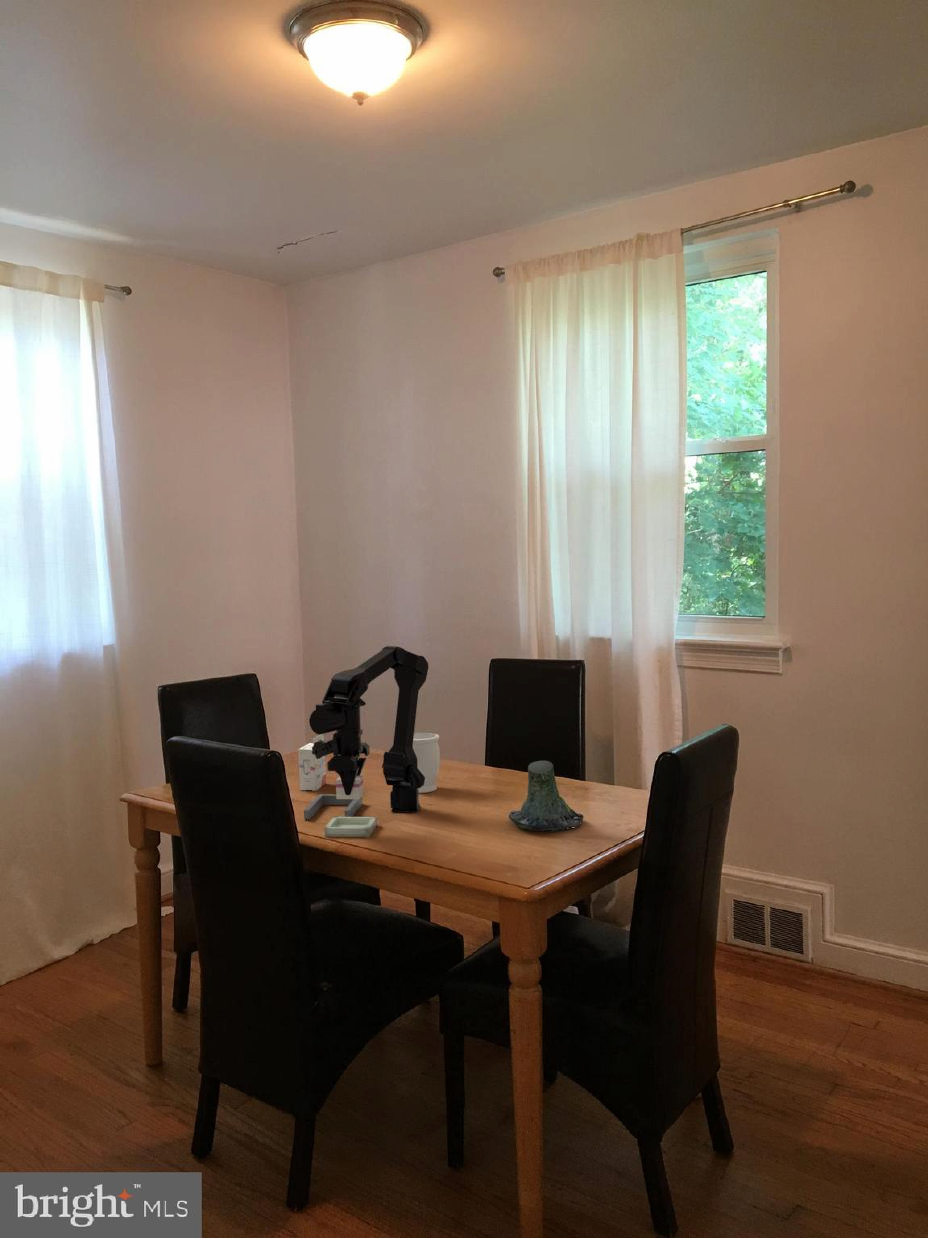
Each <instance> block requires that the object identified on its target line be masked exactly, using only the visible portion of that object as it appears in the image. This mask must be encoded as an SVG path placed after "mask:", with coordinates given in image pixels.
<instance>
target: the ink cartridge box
mask: <svg viewBox="0 0 928 1238" xmlns="http://www.w3.org/2000/svg"><path fill="white" fill-rule="evenodd" d="M320 740H322V741H324V740H325V737H324V734H320V735H319V734H317V735H316V736H315V737H313V738H312V742H309V743H307V744H305V745H304V746H301V748H298V750H297V751H298V765H299V767H298V768H299V785H300V786H299V788H300V789H299V790H300V791H306V790H312V791H313V792H315V791H318V790H319V789H321V788H322V787H323V786H324V785H326V783H327V779H326V778H327V769H326V765H327V764H326V755H325V756H323V757H321V758H320V759H316V757H315V754H312V746H314V743H315V742H318V741H320ZM312 791H311V792H312Z"/></svg>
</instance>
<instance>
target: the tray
mask: <svg viewBox="0 0 928 1238" xmlns="http://www.w3.org/2000/svg"><path fill="white" fill-rule="evenodd" d="M377 825H378V819H377V816H353V817H345V816H333V817H332V818H331V819H330V821H329V822H328V823H327V824H326V825H325V827H324V831H323V832H324V833H323V834H324V837H325V838H326V837H330V838H332V837H333V838H336V837H337V838H338V837H339V838H341V837H342V838H370V836H371V835H372V833H373V832H374V830H375V829H376V828H377Z"/></svg>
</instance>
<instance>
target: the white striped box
mask: <svg viewBox="0 0 928 1238" xmlns="http://www.w3.org/2000/svg"><path fill="white" fill-rule="evenodd" d="M335 793H336V799H360V798H361V797H362V798H363V795H364V776H363V775H360V776H356V779H355V782H354V785H353V788H352V791H351V794H350V795H346V794H345V791H344V788H343V785H342V781H341V778H340V776H339V775H338V777H337V778H336V779H335Z"/></svg>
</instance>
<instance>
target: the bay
mask: <svg viewBox="0 0 928 1238" xmlns="http://www.w3.org/2000/svg"><path fill="white" fill-rule="evenodd" d="M362 805H363V796H362V797H361V798H360V799H336V794H331V793H330V794H329V793H326V794H324V793H320V794H318V795H317V796H315V798H314V799H313V800H312V801H311V802H310V803H309V804H308V805H307V806H306V807H305V808H304V809H303V819H307V820H306V821H309V820H310V819H312V817H314V815H316V814H317V812H318V811H319V810H320V809H321V808H322V807H323V806H347V807H346V808H345V809H344V817H354V815H355V814H356V813H357V812H358V810H359V809H360V808H361V807H362ZM320 807H321V808H320ZM319 808H320V809H319ZM316 811H317V812H316ZM356 811H357V812H356ZM308 819H309V820H308Z"/></svg>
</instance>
